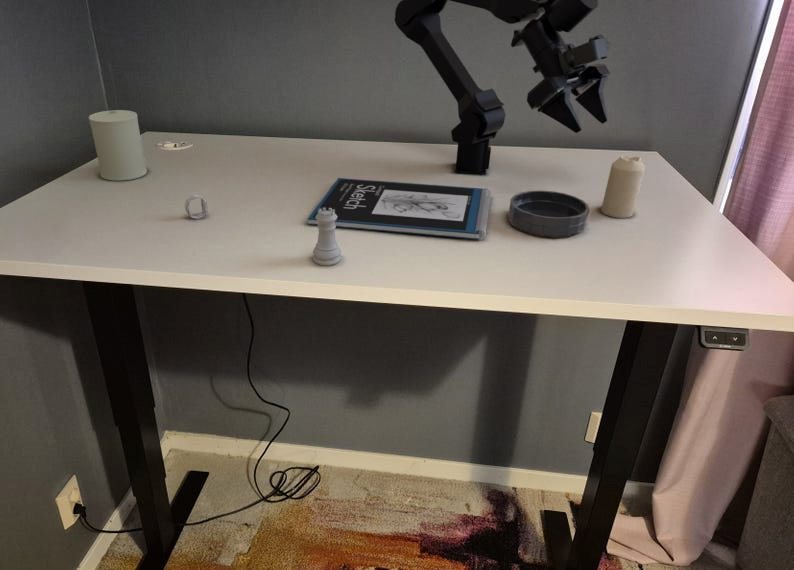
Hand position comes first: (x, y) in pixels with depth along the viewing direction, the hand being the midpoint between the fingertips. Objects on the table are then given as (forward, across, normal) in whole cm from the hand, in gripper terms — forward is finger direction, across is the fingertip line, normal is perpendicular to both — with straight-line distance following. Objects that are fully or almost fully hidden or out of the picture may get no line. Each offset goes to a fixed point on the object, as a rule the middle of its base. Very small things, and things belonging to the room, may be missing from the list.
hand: (592, 126), depth 112 cm
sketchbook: (-4, -28, +23) cm, 36 cm away
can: (-42, -55, +60) cm, 92 cm away
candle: (+15, 0, +4) cm, 16 cm away
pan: (+11, -14, +8) cm, 20 cm away
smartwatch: (-20, -57, +39) cm, 72 cm away
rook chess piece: (0, -52, +19) cm, 55 cm away
